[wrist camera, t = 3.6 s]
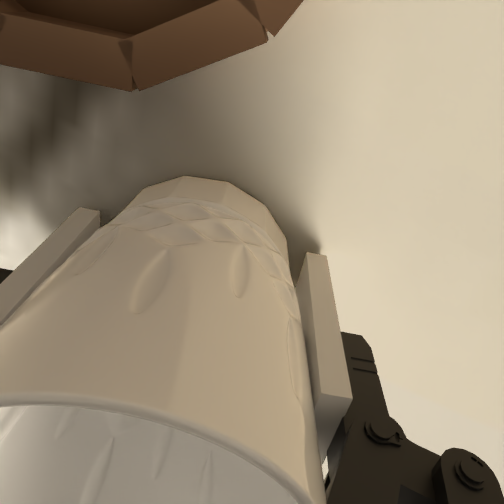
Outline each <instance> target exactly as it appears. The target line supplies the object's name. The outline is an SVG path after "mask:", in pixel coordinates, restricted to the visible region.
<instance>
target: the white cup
mask: <svg viewBox="0 0 504 504" xmlns="http://www.w3.org/2000/svg"><path fill="white" fill-rule="evenodd" d="M0 504H327V501H326V493H325V486H324V479H323V472H322V465H321V458H320V451H319V444H318V436H317V429H316V421H315V414H314V406H313V399H312V391H311V383H310V376H309V369H308V361H307V354H306V346H305V339H304V332H303V328H302V322H301V316H300V310H299V305H298V300H297V293H296V291H295V288H294V285H293V282H292V279H291V274H290V269H289V259H288V248H287V240H286V237H285V236H284V234H283V233H282V231H281V230H280V228H279V226H278V225H277V223H276V222H275V220H274V218H273V217H272V215H271V214H270V212H269V211H268V209H267V207H266V206H265V205H264V204H263V203H261V202H259V201H258V200H256V199H255V198H253V197H251V196H250V195H248V194H247V193H245V192H244V191H242V190H240V189H239V188H237V187H236V186H234V185H232V184H231V183H229V182H225V181H218V180H211V179H205V178H198V177H191V176H182V177H178V178H175V179H172V180H169V181H165V182H162V183H159V184H156V185H152V186H149V187H146V188H144V189H143V190H142V191H141V192H140V193H139V194H138V195H137V196H136V197H135V198H134V199H133V200H132V201H131V202H130V203H129V204H128V205H127V206H126V207H125V208H124V209H123V210H122V211H121V212H120V213H119V214H118V215H117V216H116V217H115V218H114V219H113V220H112V221H111V222H109V223H108V224H106V225H104V226H102V227H100V228H99V229H97V230H96V231H95V232H94V234H93V235H92V236H91V237H90V238H89V239H88V240H86V241H85V242H84V243H83V244H82V245H81V246H80V247H79V248H78V249H76V250H75V251H74V252H73V253H72V254H71V255H70V256H69V258H68V259H67V260H66V261H65V262H64V263H63V264H62V265H61V266H59V267H58V268H57V269H56V270H55V271H53V272H52V273H51V274H50V275H49V276H48V277H47V278H46V279H45V280H44V281H43V282H42V283H41V284H40V285H39V286H38V287H37V288H36V289H35V290H34V291H33V293H32V294H31V295H30V296H29V297H28V298H27V299H26V300H25V301H24V302H23V303H22V304H21V305H20V306H19V307H18V308H17V310H16V311H15V312H14V313H13V314H12V315H11V316H10V317H9V318H8V319H7V320H6V321H5V322H4V323H3V324H2V325H1V326H0Z"/></svg>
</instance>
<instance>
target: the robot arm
mask: <svg viewBox="0 0 504 504" xmlns="http://www.w3.org/2000/svg"><path fill="white" fill-rule="evenodd" d="M99 228H100V211H96V210H91V209H86V208H81V207H79V208H78V209H77V210H76V211H75V212H74V213H73V214H72V215H70V216H69V217H68V218H67V219H66V220H65V221H64V222H63V223H62V224H61V225H60V226H59V227H58V228H57V229H56V230H55V231H54V232H53V233H52V234H51V235H50V236H49V237H48V238H47V239H46V240H45V241H44V242H43V243H42V244H41V245H40V246H39V247H38V248H37V249H36V250H35V251H34V252H33V253H32V254H31V255H29V256H28V257H27V258H26V259H25V260H24V261H23V262H22V263H21V264H20V265H19V266H18V267H17V268H16V269H15V270H14V271H12V270H7V269H2V268H0V326H1V325H2V324H3V323H4V322H5V321H6V320H7V319H8V318H9V317H10V316H11V315H12V314H13V313H14V312H15V311H16V310H17V308H18V307H19V306H20V305H21V304H22V303H23V302H24V301H25V300H26V299H27V298H28V297H29V296H30V295H31V294H32V293H33V291H34V290H35V289H36V288H37V287H38V286H39V285H40V284H41V283H42V282H43V281H44V280H45V279H46V278H47V277H48V276H49V275H50V274H51V273H52V272H53V271H55V270H56V269H57V268H58V267H59V266H61V265H62V264H63V263H64V262H65V261H66V260H67V259H68V258H69V256H70V255H71V254H72V253H73V252H74V251H75V250H76V249H78V248H79V247H80V246H81V245H82V244H83V243H84V242H85V241H86V240H88V239H89V238H90V237H91V236H92V235H93V234H94V232H95V231H96V230H97V229H99ZM295 291H296V293H297V300H298V305H299V310H300V316H301V322H302V328H303V332H304V339H305V346H306V354H307V361H308V369H309V376H310V383H311V391H312V399H313V406H314V414H315V421H316V429H317V436H318V444H319V451H320V458H321V465H322V464H323V462H324V460H325V458H326V456H327V459H328V469H329V471H328V473H327V475H326V478H325V480H324V486H325V493H326V501H327V504H504V497H503V494H502V491H501V488H500V485H499V482H498V480H497V478H496V476H495V474H494V472H493V471H492V470H491V469H490V468H489V466H488V465H487V464H486V463H485V462H484V461H483V460H481V459H480V458H479V457H477V456H476V455H475V454H473V453H471V452H468V451H466V450H464V449H459V448H451V449H448V450H445V452H444V453H443V454H442V456H439V455H437V454H435V453H433V452H431V451H429V450H427V449H425V448H422V447H420V446H418V445H416V444H415V443H413V442H411V441H409V440H408V439H407V438H406V436H405V434H404V432H403V430H402V428H401V427H400V425H399V424H398V423H397V422H396V421H395V420H394V419H393V418H391V417H390V416H389V414H388V410H387V406H386V402H385V399H384V395H383V391H382V387H381V384H380V380H379V376H378V375H377V369H376V365H375V364H374V362H375V361H374V357H373V354H372V350H371V347H370V346H369V345H368V343H367V342H366V341H365V339H364V338H363V337H362V336H361V335H356V334H351V333H345V332H340V326H339V321H338V316H337V310H336V305H335V299H334V294H333V288H332V283H331V278H330V272H329V267H328V261H327V256H325V255H320V254H314V253H309V252H306V255H305V259H304V262H303V265H302V269H301V272H300V275H299V279H298V282H297V285H296V289H295Z"/></svg>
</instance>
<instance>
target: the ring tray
mask: <svg viewBox="0 0 504 504" xmlns="http://www.w3.org/2000/svg"><path fill="white" fill-rule="evenodd" d="M302 2H303V0H0V64H2V65H6V66H11V67H16V68H21V69H25V70H30V71H35V72H40V73H44V74H49V75H54V76H59V77H63V78H68V79H73V80H78V81H82V82H87V83H92V84H97V85H101V86H106V87H111V88H116V89H120V90H125V91H130V92H132V91H134V90H135V89H137V88H138V89H139V91H141V90H144V89H146V88H149V87H152V86H154V85H157V84H159V83H162V82H165V81H167V80H170V79H173V78H175V77H178V76H180V75H183V74H186V73H188V72H191V71H194V70H196V69H199V68H201V67H204V66H207V65H209V64H212V63H214V62H217V61H220V60H222V59H225V58H228V57H230V56H233V55H235V54H238V53H241V52H243V51H246V50H249V49H251V48H254V47H256V46H259V45H262V44H264V43H267V41H268V36H267V31H269V32H270V33H271V34H272V35H273V36H274V37H275V35H276V34H277V33H278V32H279V30H280V29H281V28H282V27H283V25H284V24H285V23H286V22H287V20H288V19H289V18H290V17H291V15H292V14H293V13H294V12H295V10H296V9H297V8H298V7H299V5H300V4H301V3H302Z"/></svg>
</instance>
